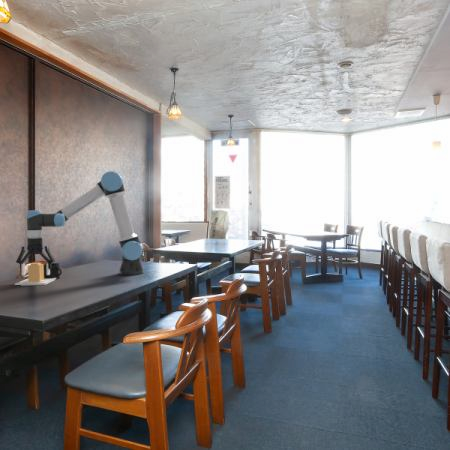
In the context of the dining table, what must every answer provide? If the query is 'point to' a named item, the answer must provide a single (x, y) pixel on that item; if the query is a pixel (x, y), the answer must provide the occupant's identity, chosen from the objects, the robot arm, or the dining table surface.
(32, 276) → the tan rectangular block
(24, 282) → the junction board
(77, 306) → the dining table surface
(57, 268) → the mug
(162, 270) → the dining table surface
